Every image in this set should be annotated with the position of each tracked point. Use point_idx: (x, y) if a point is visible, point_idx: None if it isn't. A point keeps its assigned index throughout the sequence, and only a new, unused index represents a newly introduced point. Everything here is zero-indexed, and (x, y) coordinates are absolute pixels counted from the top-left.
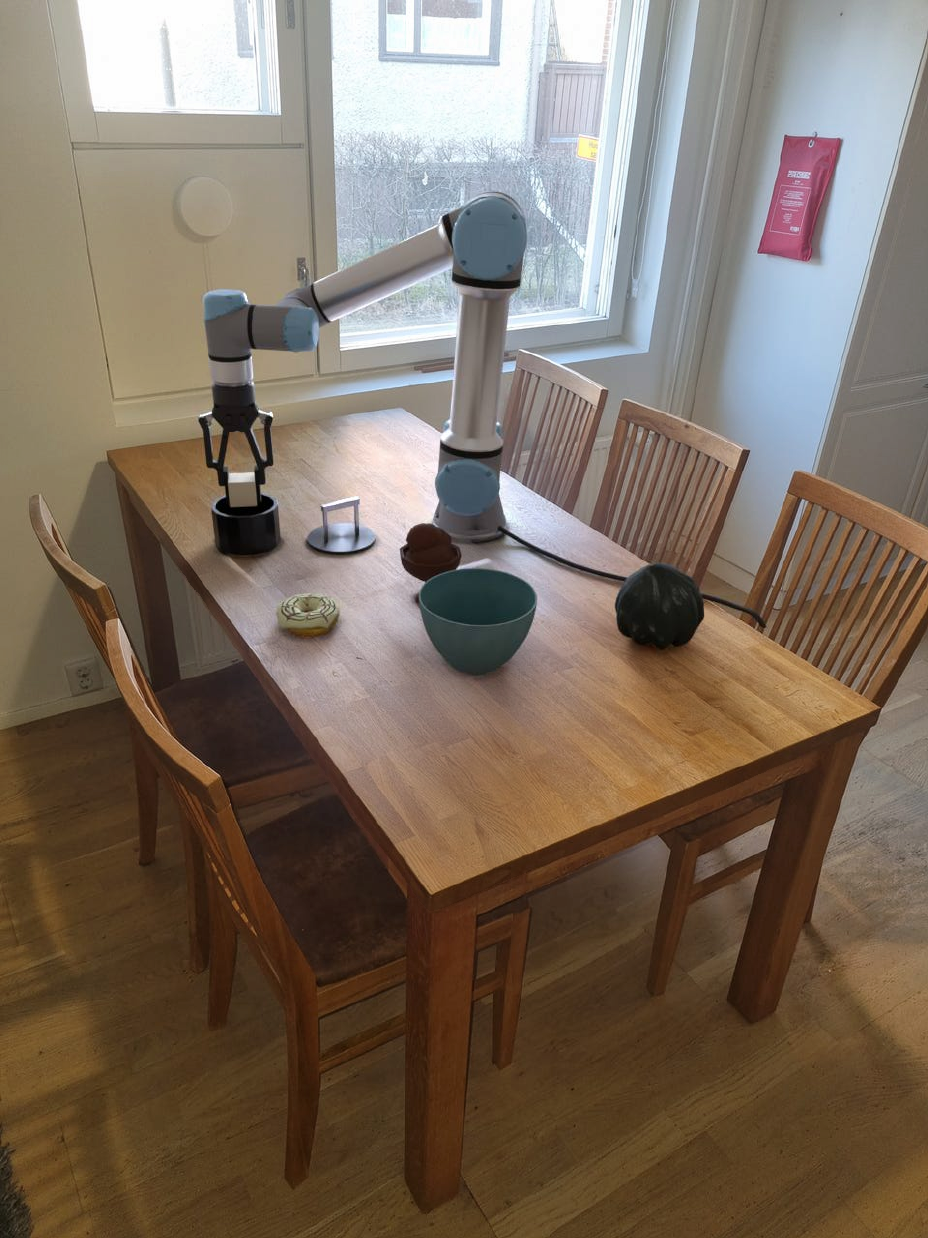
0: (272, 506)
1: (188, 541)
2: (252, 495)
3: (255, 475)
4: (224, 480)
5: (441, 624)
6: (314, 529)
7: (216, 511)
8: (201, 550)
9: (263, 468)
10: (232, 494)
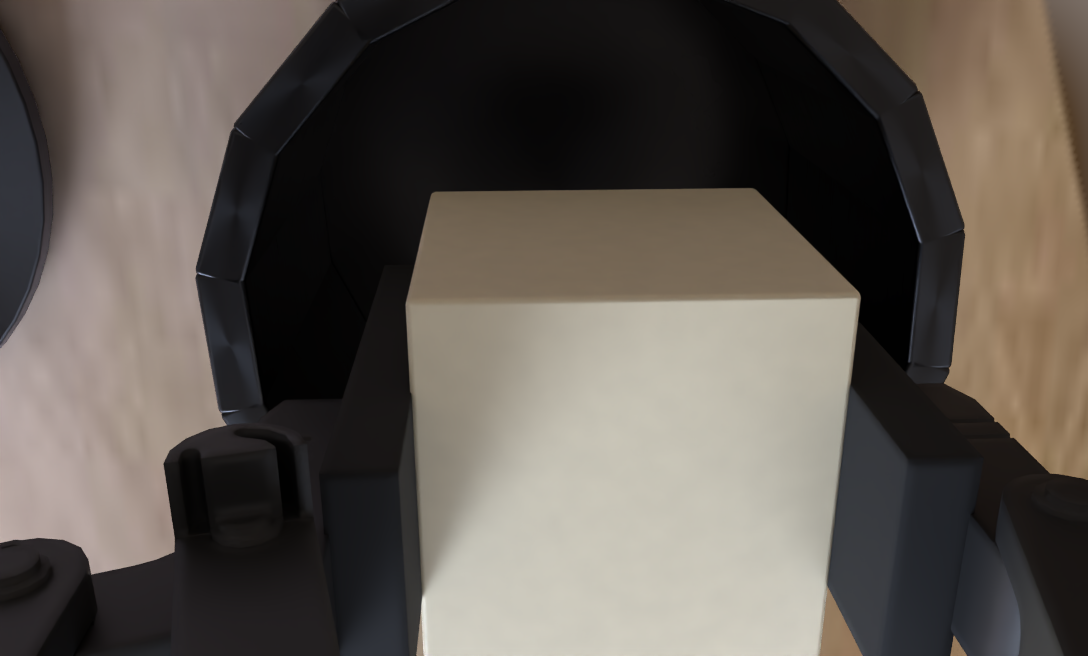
0: (254, 233)
1: (1013, 287)
2: (473, 227)
3: (390, 428)
4: (911, 384)
5: None
6: (3, 331)
7: (914, 142)
8: (929, 115)
9: (186, 462)
10: (755, 231)
